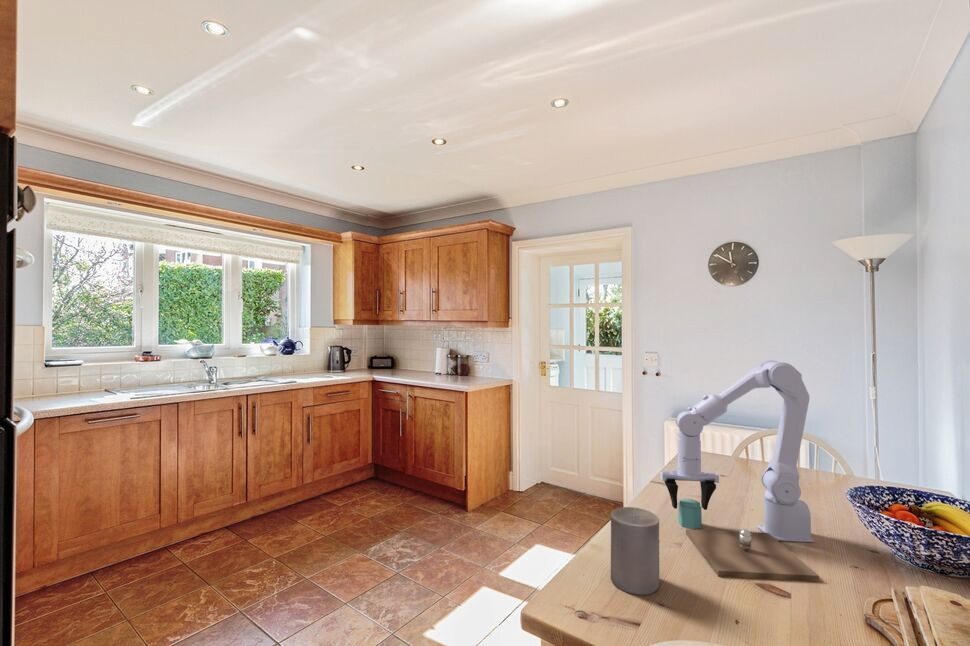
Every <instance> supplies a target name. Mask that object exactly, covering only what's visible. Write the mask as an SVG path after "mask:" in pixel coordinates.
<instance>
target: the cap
mask: <svg viewBox="0 0 970 646" xmlns="http://www.w3.org/2000/svg"><path fill="white" fill-rule="evenodd" d="M677 511H678V513H677V514H678V517H677V519H678V524H679V525H680V526H681V527H683V528H686V529H690V530H698V529H700V528H703V527H702V525H703V524H702V521H703V520H702V517H703V516H702V506H701V502H700V501H698V500H696V499H692V498H681V499H679V502H677Z"/></svg>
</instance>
